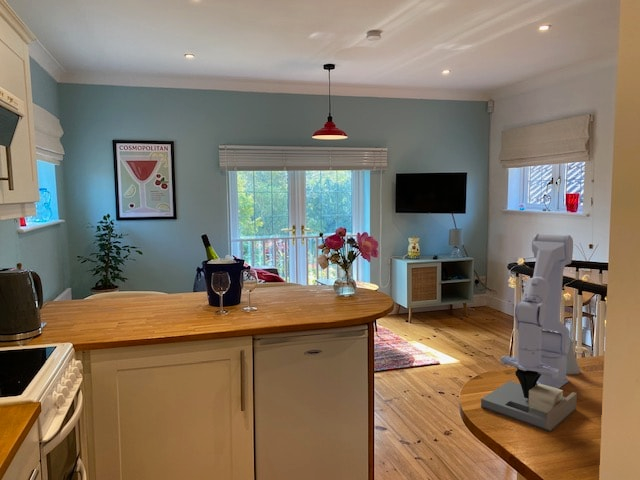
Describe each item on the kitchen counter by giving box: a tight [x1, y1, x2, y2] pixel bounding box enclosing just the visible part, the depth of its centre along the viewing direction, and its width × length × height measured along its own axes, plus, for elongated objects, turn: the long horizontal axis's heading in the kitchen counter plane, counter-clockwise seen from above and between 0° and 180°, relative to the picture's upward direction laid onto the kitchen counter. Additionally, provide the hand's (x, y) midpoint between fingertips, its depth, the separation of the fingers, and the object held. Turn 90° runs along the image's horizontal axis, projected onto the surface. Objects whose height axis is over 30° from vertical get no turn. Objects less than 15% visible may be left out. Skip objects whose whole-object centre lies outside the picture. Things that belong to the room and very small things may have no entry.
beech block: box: [529, 383, 564, 412], centre depth 122 cm, size 6×6×4 cm
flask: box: [565, 338, 581, 375], centre depth 149 cm, size 7×7×10 cm
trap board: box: [480, 380, 578, 433], centre depth 126 cm, size 16×18×4 cm
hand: (528, 396), depth 126 cm, fingers closed
